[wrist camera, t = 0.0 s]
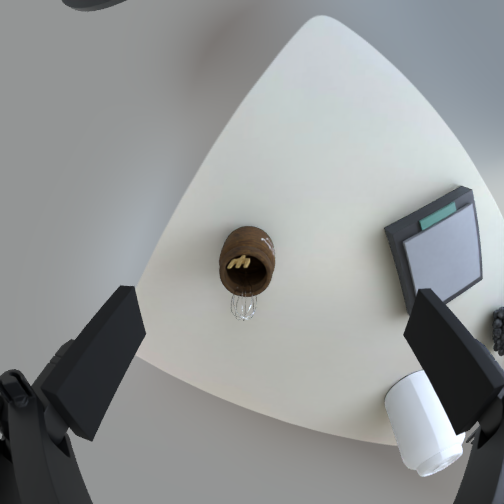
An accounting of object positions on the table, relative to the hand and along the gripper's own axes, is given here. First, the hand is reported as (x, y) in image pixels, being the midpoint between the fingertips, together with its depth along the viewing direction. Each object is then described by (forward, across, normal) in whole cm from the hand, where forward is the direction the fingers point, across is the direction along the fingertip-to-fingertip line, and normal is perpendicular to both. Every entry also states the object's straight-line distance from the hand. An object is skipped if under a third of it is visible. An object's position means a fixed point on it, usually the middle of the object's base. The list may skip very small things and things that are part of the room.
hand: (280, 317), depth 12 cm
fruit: (+21, +49, -20) cm, 57 cm away
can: (+21, +30, -35) cm, 51 cm away
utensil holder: (+21, -2, -5) cm, 22 cm away
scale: (+21, +24, -5) cm, 32 cm away
